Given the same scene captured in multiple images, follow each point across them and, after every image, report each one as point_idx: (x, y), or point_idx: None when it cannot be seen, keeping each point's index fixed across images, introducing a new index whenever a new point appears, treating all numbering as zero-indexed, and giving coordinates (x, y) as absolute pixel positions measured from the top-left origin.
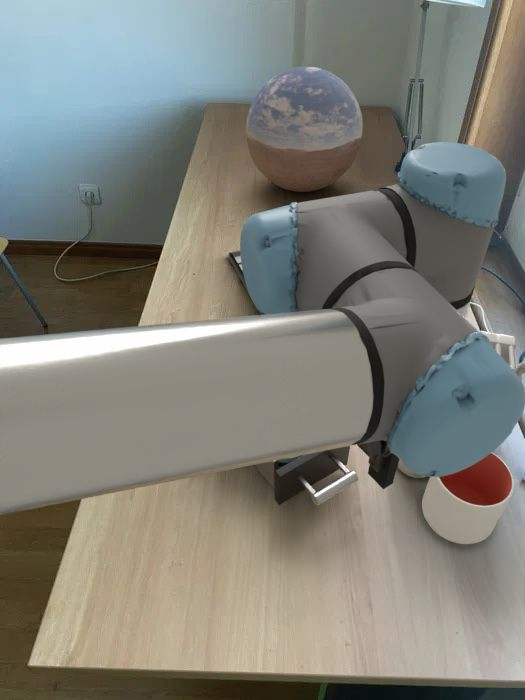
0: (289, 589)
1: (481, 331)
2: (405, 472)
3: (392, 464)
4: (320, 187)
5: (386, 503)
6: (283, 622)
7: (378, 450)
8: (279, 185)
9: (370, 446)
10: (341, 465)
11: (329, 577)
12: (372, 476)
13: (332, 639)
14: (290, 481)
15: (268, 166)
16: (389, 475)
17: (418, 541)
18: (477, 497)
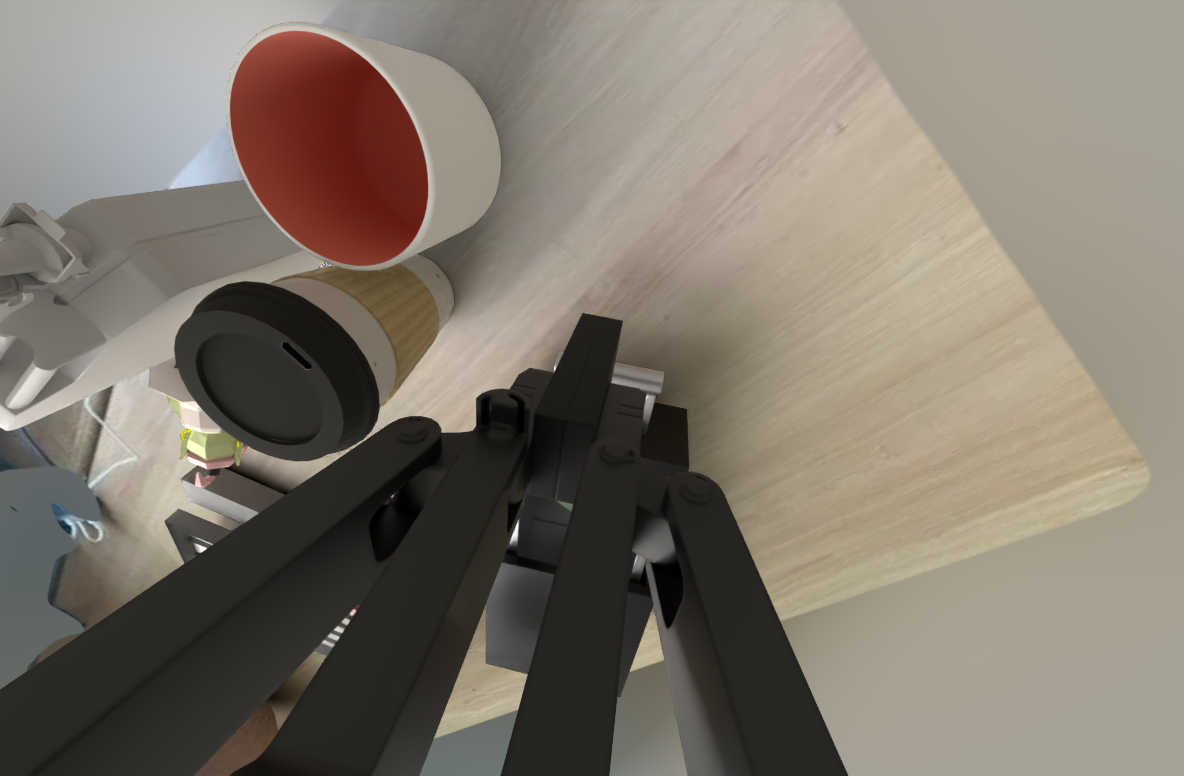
0: (808, 292)
1: (4, 429)
2: (450, 290)
3: (590, 379)
4: None
5: (528, 274)
6: (875, 256)
7: (695, 530)
8: (268, 713)
9: (780, 626)
10: None
11: (736, 253)
12: (613, 370)
13: (849, 159)
14: (662, 437)
15: None
16: (601, 347)
17: (542, 172)
18: (363, 142)
